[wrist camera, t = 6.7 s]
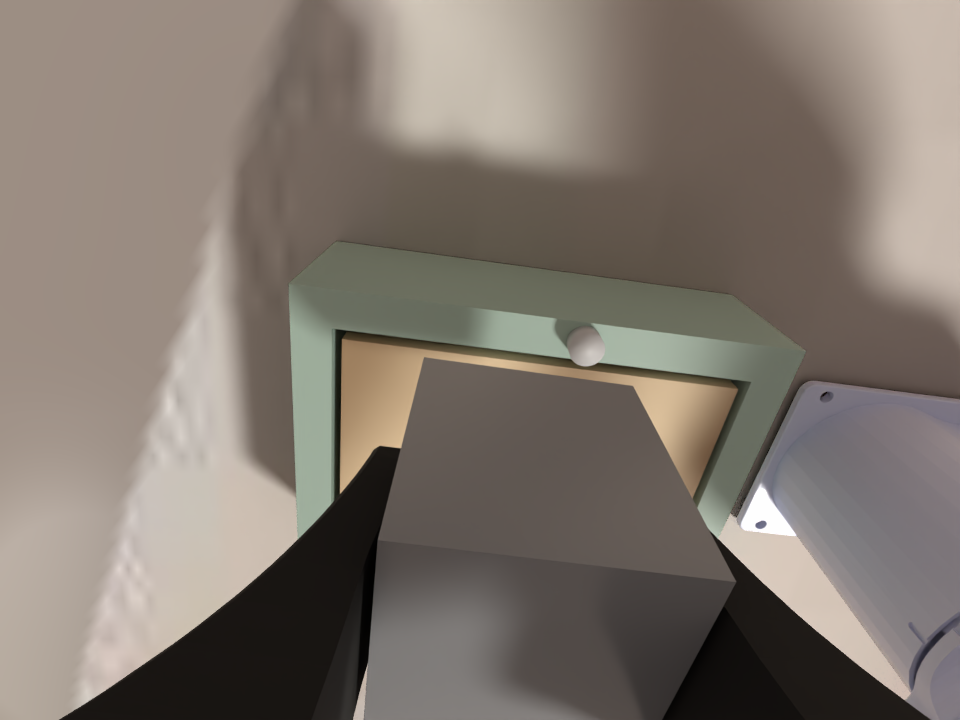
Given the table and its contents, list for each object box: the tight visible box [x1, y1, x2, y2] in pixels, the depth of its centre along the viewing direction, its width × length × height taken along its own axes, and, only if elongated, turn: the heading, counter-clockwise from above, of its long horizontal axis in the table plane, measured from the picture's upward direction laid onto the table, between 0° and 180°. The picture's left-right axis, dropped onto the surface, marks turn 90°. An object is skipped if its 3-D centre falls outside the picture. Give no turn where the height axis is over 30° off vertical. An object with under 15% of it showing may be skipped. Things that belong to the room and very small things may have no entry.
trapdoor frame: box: [288, 241, 806, 539], centre depth 19 cm, size 15×14×6 cm
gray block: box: [364, 357, 736, 720], centre depth 9 cm, size 4×4×5 cm
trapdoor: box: [340, 331, 738, 498], centre depth 19 cm, size 12×11×3 cm
